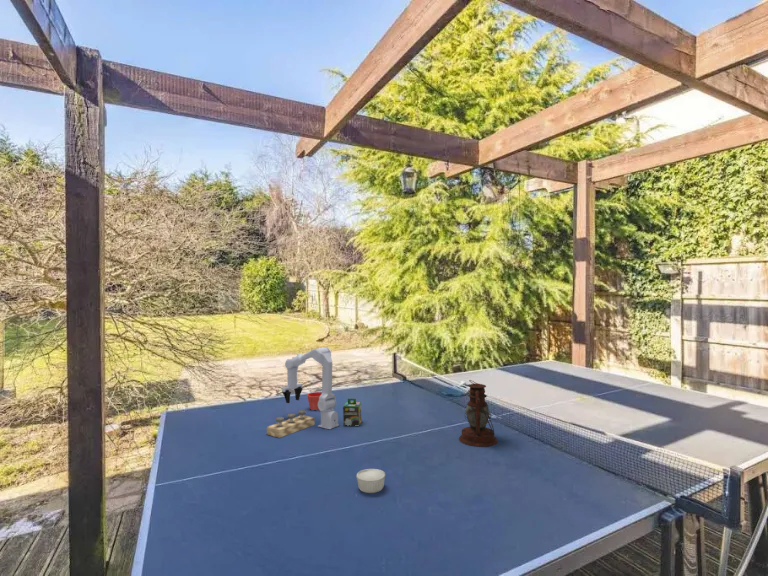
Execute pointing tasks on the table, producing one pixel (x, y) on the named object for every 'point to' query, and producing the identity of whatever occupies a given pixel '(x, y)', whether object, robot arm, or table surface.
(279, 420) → the plunger
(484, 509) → the table surface
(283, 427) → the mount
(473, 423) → the lantern
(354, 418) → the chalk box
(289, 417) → the plunger
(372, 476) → the ramekin
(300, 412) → the plunger
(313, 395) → the flower pot
